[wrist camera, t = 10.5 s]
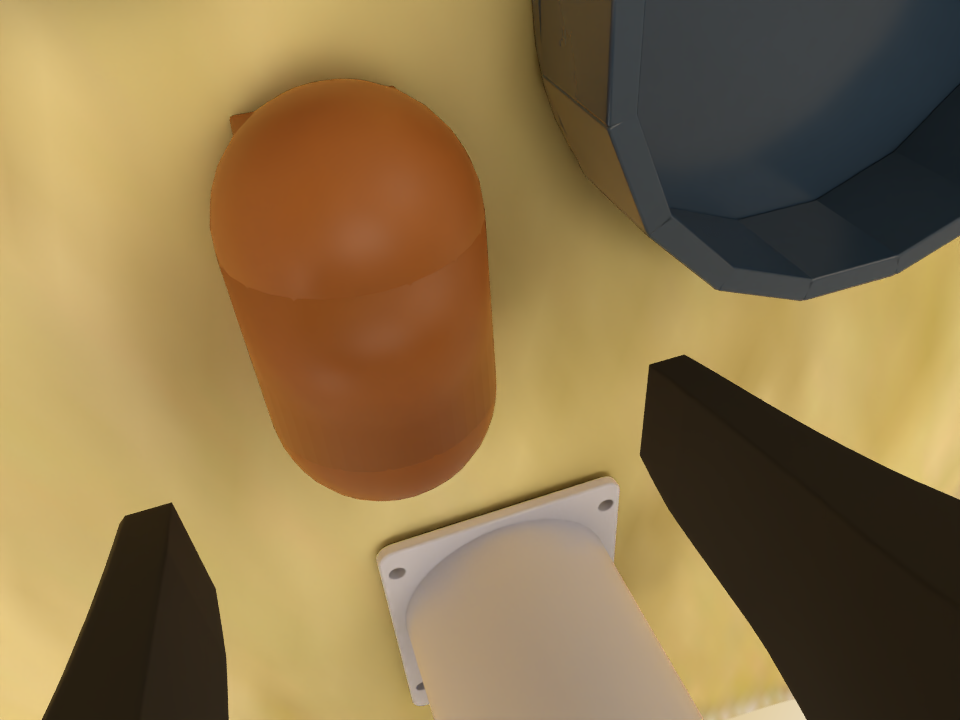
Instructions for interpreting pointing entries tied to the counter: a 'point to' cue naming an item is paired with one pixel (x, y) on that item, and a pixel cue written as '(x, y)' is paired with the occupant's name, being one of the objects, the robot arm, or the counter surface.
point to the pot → (766, 130)
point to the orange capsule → (360, 284)
